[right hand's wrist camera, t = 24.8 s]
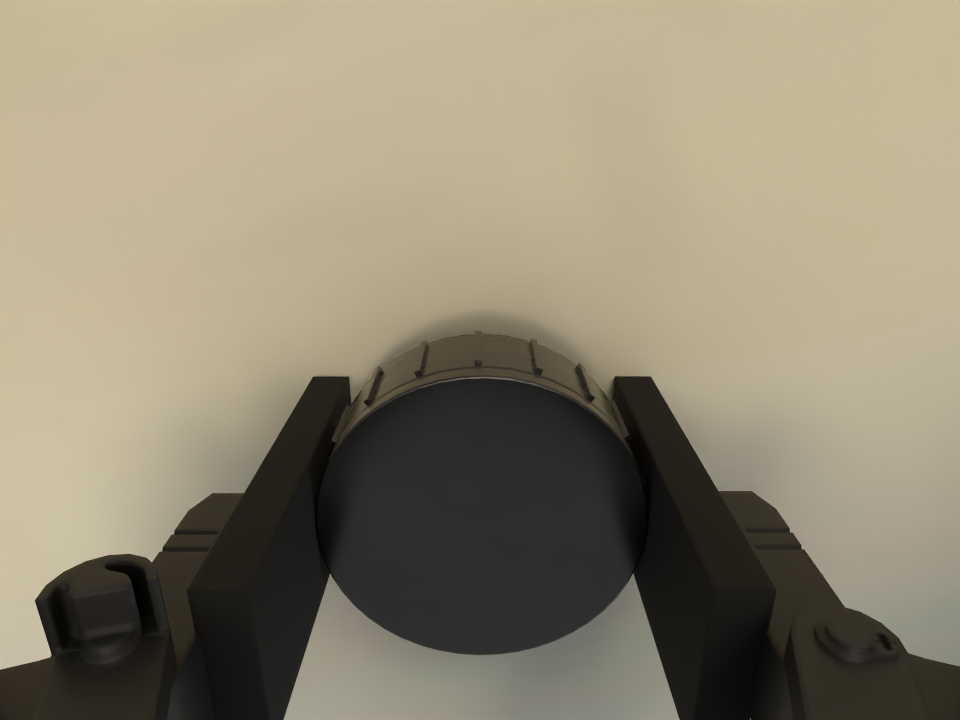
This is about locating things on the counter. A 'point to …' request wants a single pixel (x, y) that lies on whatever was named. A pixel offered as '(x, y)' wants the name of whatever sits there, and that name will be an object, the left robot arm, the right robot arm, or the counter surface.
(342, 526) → the lid
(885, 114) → the counter surface
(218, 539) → the right robot arm
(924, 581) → the counter surface
